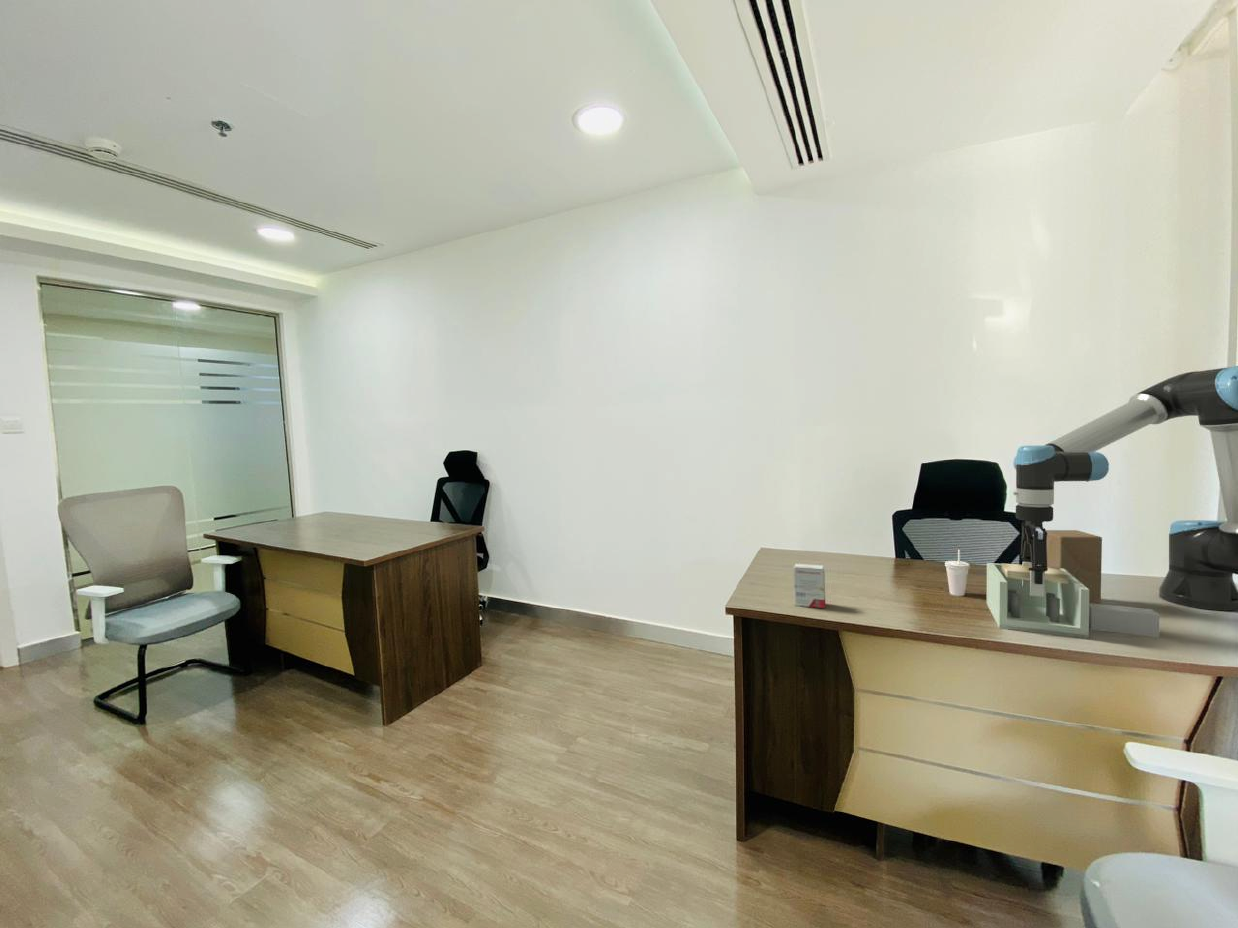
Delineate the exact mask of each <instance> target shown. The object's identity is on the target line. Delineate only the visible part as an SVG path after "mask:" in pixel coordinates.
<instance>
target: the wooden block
mask: <svg viewBox="0 0 1238 928" xmlns="http://www.w3.org/2000/svg"><path fill="white" fill-rule="evenodd" d="M1045 531H1047V567H1056V568H1062V569H1065V570H1066V571H1067V572H1069V573H1070V574H1071V575H1072V576H1073V577H1075V578H1076V579H1077V580H1078V581H1079V582H1081V583H1082V584H1083V585H1084V586H1085V587H1087V588H1088V589H1089V603H1092V604H1101V602H1102V557H1103V555H1102V554H1103V553H1102V552H1103V537H1101V536H1099V535H1096V534H1092V533H1088V532H1083V531H1080V530H1076V529H1069V530H1068V529H1066V530H1065V529H1059V530H1058V529H1045ZM1038 566H1041V565H1038Z"/></svg>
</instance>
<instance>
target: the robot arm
mask: <svg viewBox="0 0 1238 928" xmlns="http://www.w3.org/2000/svg"><path fill="white" fill-rule="evenodd" d="M1192 416H1197V418H1198V424H1199V426H1200V427H1201V428H1204V429H1206V430H1208V431H1210V432H1209V433H1210V437H1211V444H1212V448H1213V453H1214V458H1215V465H1216V471H1217V475H1218V480H1219V481H1218V482H1219V486H1220V492H1221V496H1222V502H1223V507H1224V512H1225V518H1226V520H1203V519H1202V520H1196V519H1195V520H1193V519H1191V520H1186V519H1185V520H1175V521H1173V522H1172V523H1171V524H1170V528H1169V533H1168V572H1167V573H1166V575H1165V577H1164V579H1163V581H1162V583H1161V585H1160V587H1159V590H1158V591H1159V592H1158V596H1159V597H1160V598H1161V599H1163V600H1165V601H1167V602H1170V603H1174V604H1178V605H1181V606H1182V605H1183V606H1187V607H1192V608H1197V609H1203V610H1204V609H1205V610H1211V611H1226V612H1227V611H1230V612H1231V611H1232V612H1233V611H1238V588H1237V586H1236V583H1235V581H1234V577H1233V576H1234V575H1238V365H1237V366H1228V367H1221V368H1213V369H1206V370H1197V371H1190V372H1185V373H1184V372H1183V373H1179V374H1177V375H1174V376H1172V377H1170V378H1167V379H1165V380H1163V381H1160V382H1157V383H1156V384H1154V385H1151V386H1150V387H1148V388H1145V389H1143V390H1141V391H1140V392H1138V393H1135V394H1134V395H1132V396H1131V397H1130V398H1129V400H1128V402H1127V403H1125V404H1123V405H1121V406H1119V407H1117V408H1115V409H1113V410H1111V411H1109V412H1107V413H1105V414H1103V415H1101V416H1099V417H1097V418H1096V419H1095V418H1094V420H1092V421H1090V422H1087V423H1086V424H1083V425H1081V426H1080V427H1077V428H1075V429H1074V430H1072V431H1070V432H1067V433H1066V434H1063V435H1062V436H1060V437H1058V438H1056V439H1054V440H1052V441H1050V442H1049V443H1047V444H1044V445H1021V446H1019V447H1018V448H1017V451H1016V455H1015V457H1014V458H1013V468H1014V469H1015V481H1016V482H1015V483H1016V484H1015V485H1016V490H1015V491H1013V495H1014V496H1015V502H1016V504H1017V505H1015V518H1016V519H1017V520H1020V521H1024V522H1022V523H1021V531H1022V532H1021V544H1020V548H1021V549H1020V557H1021V560H1022V565H1030V566H1032V568H1028V570H1029V571H1030V580H1022V586H1029V587H1030V595H1031V596H1041V597H1044V586H1045V571H1047V570H1048V568H1047V531H1045V530H1046V528H1044V527H1043V526H1044V525H1043V523H1044V522H1046V523H1049V522H1052V521H1054V507H1053V506H1052V505H1054V504H1055V502H1054V499H1055V482H1056V483H1057V482H1087V483H1088V482H1094V481H1095V482H1096V481H1100V480H1102V479H1104V478H1105V477H1106V476H1107V475H1108V473H1109V471H1110V469H1109V468H1110V464H1109V461H1108V458H1107V457H1106V456H1105V454H1103V453H1100V452H1097V451H1099V450H1101V449H1103V448H1105V447H1106V446H1108V445H1109V446H1110V445H1111V444H1113V443H1115V442H1117V441H1119V440H1121V439H1123V438H1125V437H1127V436H1129V435H1132V434H1133V433H1135V432H1137V431H1139V430H1141V429H1143V428H1145V427H1147V426H1149V425H1160V424H1163V423H1164V422H1166V421H1169V420H1171V419H1177V418H1182V417H1192ZM1039 565H1041V566H1039Z"/></svg>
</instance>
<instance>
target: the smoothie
mask: <svg viewBox="0 0 1238 928" xmlns="http://www.w3.org/2000/svg"><path fill="white" fill-rule="evenodd" d="M944 566H945V568H946V569H945V570H946V576H947V583H948V588H949V589H948V590H949V594H950V595H951V596H955V597H963V596H965V593H966V588H967V580H968V575H969V569H970V568H971V566H970V563H968V562H965V561H961V549H958V548H957V560H946V561H945V562H944Z"/></svg>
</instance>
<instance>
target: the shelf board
mask: <svg viewBox="0 0 1238 928" xmlns="http://www.w3.org/2000/svg"><path fill="white" fill-rule="evenodd" d="M1000 564H1001V571H1002V572H1003V573H1004V574H1005V576H1006V577H1007V578H1011V579H1022V580H1030V571H1029V570H1028V568H1032V566H1030V565H1023V564H1017V563H1002V562H1001V563H1000ZM1047 568H1048V570H1047V571H1045V582H1056V583H1067V584H1068V575H1066V574H1065V573H1064V572H1063V571H1062V570H1061V569H1059V568H1056V567H1047Z"/></svg>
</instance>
